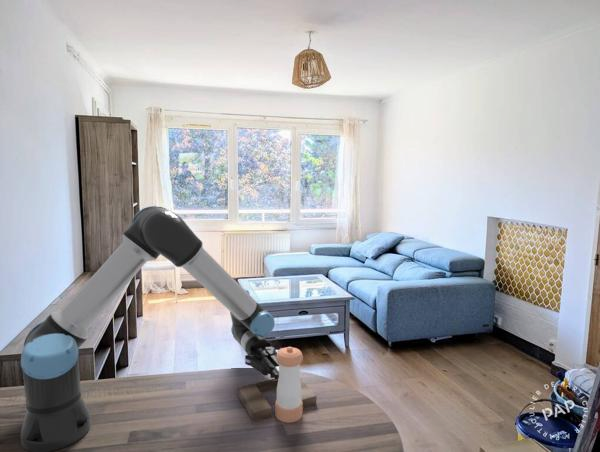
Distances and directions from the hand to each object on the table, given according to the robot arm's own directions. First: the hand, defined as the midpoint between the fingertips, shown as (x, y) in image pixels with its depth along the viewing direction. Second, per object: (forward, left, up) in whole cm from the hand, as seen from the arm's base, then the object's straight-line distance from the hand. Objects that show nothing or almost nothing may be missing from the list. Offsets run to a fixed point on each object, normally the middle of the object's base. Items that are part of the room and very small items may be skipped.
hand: (286, 381), depth 115 cm
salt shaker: (+3, -1, -8) cm, 8 cm away
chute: (-4, -1, -7) cm, 8 cm away
